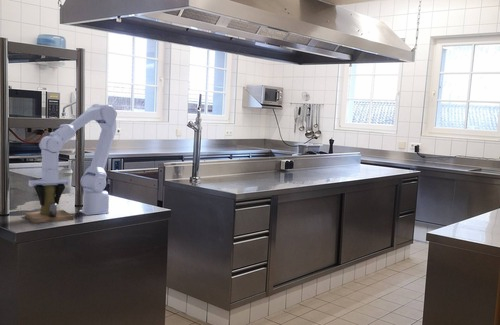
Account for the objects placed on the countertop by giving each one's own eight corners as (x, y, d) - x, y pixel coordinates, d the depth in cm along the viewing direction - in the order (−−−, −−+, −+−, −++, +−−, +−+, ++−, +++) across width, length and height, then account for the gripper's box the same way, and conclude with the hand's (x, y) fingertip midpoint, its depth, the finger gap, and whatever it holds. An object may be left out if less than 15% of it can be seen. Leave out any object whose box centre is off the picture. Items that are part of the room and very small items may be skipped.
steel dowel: (55, 215, 182) (55, 202, 182) (57, 216, 180) (57, 203, 180) (48, 216, 181) (48, 202, 180) (50, 217, 179) (50, 203, 179)
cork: (60, 213, 185) (60, 185, 184) (44, 215, 181) (44, 186, 180) (52, 211, 189) (52, 182, 188) (37, 213, 185) (37, 184, 184)
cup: (63, 195, 232) (63, 170, 230) (54, 193, 235) (54, 169, 234) (75, 194, 238) (76, 169, 237) (66, 192, 241) (67, 168, 240)
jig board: (62, 213, 193) (62, 209, 193) (73, 219, 184) (73, 215, 184) (25, 216, 185) (25, 212, 184) (34, 223, 175) (34, 218, 175)
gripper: (66, 166, 190) (65, 201, 191) (26, 167, 181) (25, 203, 182) (72, 169, 185) (71, 204, 186) (31, 169, 176) (31, 207, 177)
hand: (49, 204), depth 184 cm, fingers closed on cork, 5 cm apart
